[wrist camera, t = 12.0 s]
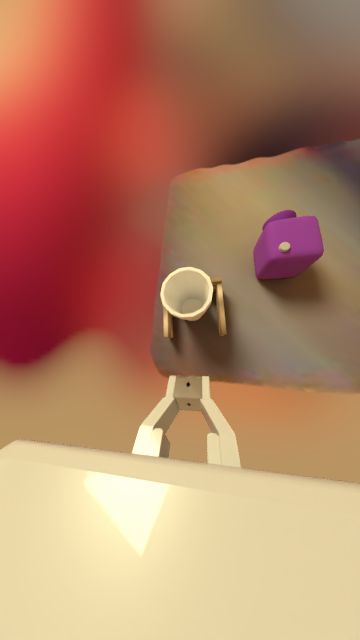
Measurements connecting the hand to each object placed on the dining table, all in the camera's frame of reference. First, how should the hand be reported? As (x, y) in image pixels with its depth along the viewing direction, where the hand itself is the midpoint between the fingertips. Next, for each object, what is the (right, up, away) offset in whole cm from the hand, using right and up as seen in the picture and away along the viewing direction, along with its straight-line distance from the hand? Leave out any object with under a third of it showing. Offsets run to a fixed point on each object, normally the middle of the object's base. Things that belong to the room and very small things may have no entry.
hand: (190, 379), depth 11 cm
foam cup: (+3, +7, +26) cm, 27 cm away
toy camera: (+23, +21, +25) cm, 40 cm away
